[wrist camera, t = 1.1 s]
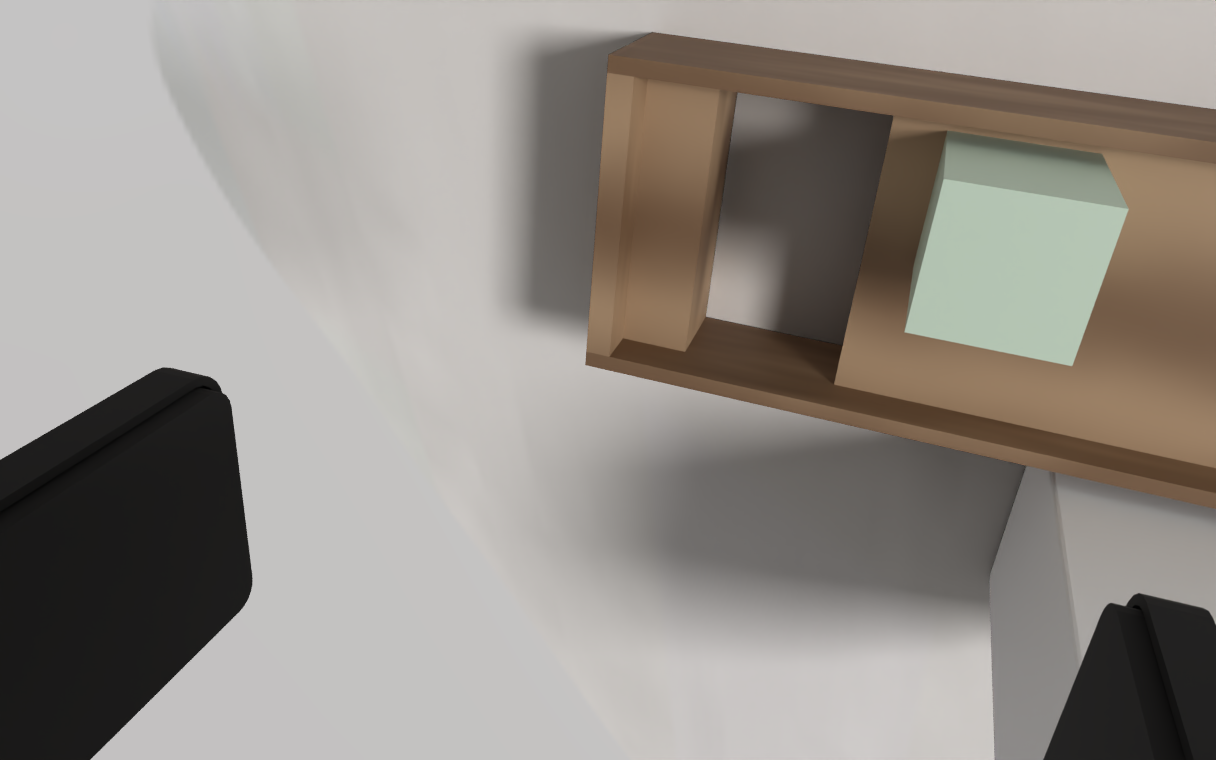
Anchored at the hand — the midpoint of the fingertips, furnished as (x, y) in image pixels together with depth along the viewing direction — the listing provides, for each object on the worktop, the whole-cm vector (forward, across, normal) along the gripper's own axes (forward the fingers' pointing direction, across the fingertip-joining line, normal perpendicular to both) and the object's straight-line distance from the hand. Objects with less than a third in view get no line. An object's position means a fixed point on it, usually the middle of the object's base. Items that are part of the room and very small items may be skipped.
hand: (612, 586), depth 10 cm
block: (+21, -5, +1) cm, 21 cm away
